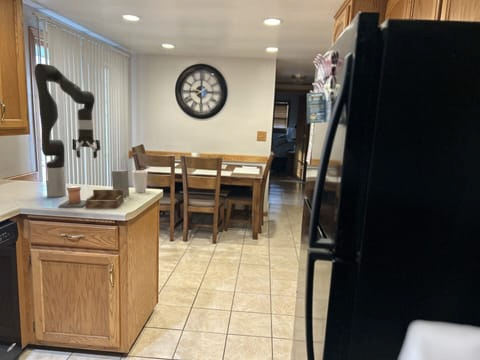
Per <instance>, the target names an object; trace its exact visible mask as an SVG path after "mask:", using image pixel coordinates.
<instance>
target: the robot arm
mask: <svg viewBox="0 0 480 360" xmlns="http://www.w3.org/2000/svg"><path fill="white" fill-rule="evenodd" d="M34 77H35V84H36V89H37V96H38V97H37V98H38V104H39V117H40V126H41V127H40V128H41V150H42V154H43V155H44V156H45V157H51V156H52V157H53V156H55V157H54V158H53V159H51V160H49V161H47V162H46V174H47V175H46V176H47V179H46V180H45V183H46V196H47V197H49V198H60V197H64V196H65V197H66V196H67V187H66V174H65V143H64V141H63V140H61V139H51V134H52V133H51V132H52V130H53V127H54V126H55V124H56V123H57V121H58V119H59V108H58V103H57V101H56V100H55V99H54V97H53V95H52V94H51V93H50V90H49V88H48V82H49V83H55V84H58V85H59V88H60V89H61V90H62V91H63V92H64V93H65V94H67V95H68V96H69V97H70V98H71V100H72V101H73V102H74V103H76V104H79V105H83V107H82V108H79V109H78V110H77V119H78V121H77V132H78V136H77V137H78V138H72V146H71V147H72V148H71V149H72V150H74V151H75V153H76V157H77V158H78V159H79V158H81V149H82V148H90V149H91V150H92V153H93V154H92V156H93V159H97V157H98V151H100V150H101V141H100V139H94V124H93V109H94V106H95V105H94V104H95V100H96V99H95V95H94V93H93V92H92V91H90V90H89V91H88V90H82V88H80V86H79V85H77V84H76V83H74V82H73V81H71V80H70V79H69V78H67V76H65V74H63V73H62V72H61V71H60V70H59V69H58V68H57V67H56V66H54V65H51V64H46V63H45V64H44V63H36V65H35V66H34ZM77 143H78V146H77ZM94 144H95V145H96V146H95V145H94Z"/></svg>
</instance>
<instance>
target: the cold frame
mask: <svg viewBox="0 0 480 360" xmlns="http://www.w3.org/2000/svg"><path fill="white" fill-rule="evenodd" d="M92 192H93V193H92V195H90V196H88V197H87V198H86V206H85V209H118V208H119V207H120V206H122V204H123V203H124V200H125V199H124V197H123V190H113V189H93V190H92Z"/></svg>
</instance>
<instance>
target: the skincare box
mask: <svg viewBox="0 0 480 360" xmlns="http://www.w3.org/2000/svg"><path fill="white" fill-rule="evenodd" d="M111 179H112V181H111V182H112V183H111V184H112V190H123V197H127V196H130V187H129V170H128V169H117V170H116V169H115V170H111Z"/></svg>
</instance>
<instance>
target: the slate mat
mask: <svg viewBox="0 0 480 360" xmlns="http://www.w3.org/2000/svg"><path fill="white" fill-rule="evenodd" d="M59 207H61V208H69V209H71V208H74V209H75V208H76V209H77V208H79V209H80V208H85V207H86V200H81V203H79V204H69V199H67V200H66V201H65V202H62V203H60V204H59V205H58V208H59ZM61 208H60V209H61Z"/></svg>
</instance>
